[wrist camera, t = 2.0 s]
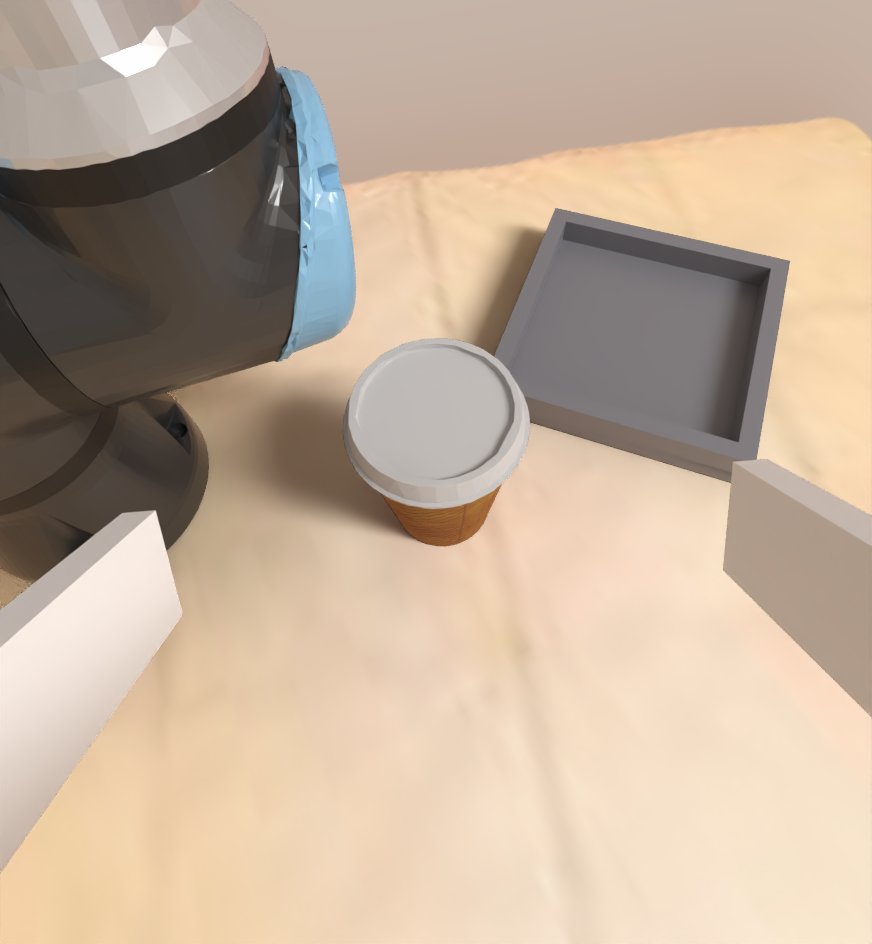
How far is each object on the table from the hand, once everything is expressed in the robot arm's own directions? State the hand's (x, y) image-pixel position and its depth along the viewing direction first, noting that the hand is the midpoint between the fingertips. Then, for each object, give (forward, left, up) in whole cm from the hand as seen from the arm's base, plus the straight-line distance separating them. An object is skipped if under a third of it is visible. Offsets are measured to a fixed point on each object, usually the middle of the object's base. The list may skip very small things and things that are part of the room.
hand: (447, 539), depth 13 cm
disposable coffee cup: (-5, +10, -24) cm, 26 cm away
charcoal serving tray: (+4, +27, -23) cm, 36 cm away
